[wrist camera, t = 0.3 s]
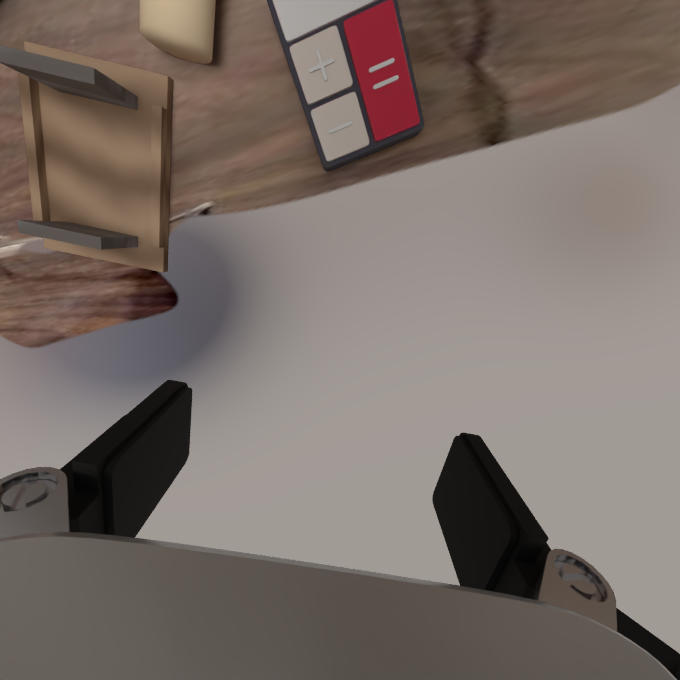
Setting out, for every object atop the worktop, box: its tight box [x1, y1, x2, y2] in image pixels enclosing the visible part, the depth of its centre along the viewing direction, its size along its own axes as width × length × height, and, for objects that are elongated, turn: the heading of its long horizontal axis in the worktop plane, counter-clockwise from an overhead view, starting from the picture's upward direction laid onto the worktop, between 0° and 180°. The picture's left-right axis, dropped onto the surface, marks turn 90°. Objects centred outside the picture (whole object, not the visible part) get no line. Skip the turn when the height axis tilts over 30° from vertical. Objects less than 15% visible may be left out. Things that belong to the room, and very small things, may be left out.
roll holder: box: [0, 41, 173, 272], centre depth 32 cm, size 20×14×7 cm
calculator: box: [267, 0, 424, 171], centre depth 31 cm, size 11×4×15 cm
